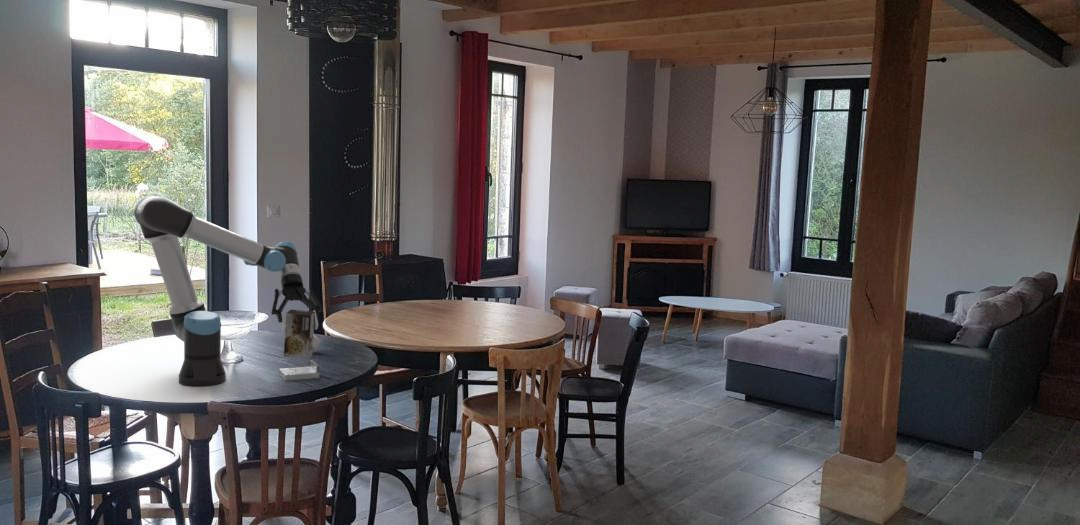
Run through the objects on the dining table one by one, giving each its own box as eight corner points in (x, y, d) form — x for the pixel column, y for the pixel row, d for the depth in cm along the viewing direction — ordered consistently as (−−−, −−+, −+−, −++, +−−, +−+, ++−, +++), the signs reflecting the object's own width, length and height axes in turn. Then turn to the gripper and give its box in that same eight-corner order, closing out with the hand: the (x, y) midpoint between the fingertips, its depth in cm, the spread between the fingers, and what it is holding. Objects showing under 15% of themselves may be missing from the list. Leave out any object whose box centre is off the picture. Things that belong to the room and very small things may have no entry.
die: (314, 350, 347) (299, 332, 345) (327, 343, 342) (313, 324, 340) (303, 361, 340) (288, 342, 338) (317, 354, 335) (302, 335, 333)
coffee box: (312, 354, 306) (316, 311, 304) (308, 359, 299) (312, 314, 297) (287, 352, 305) (290, 308, 303) (282, 356, 299) (285, 312, 297)
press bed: (284, 380, 296) (285, 368, 296) (278, 374, 305) (279, 362, 304) (319, 378, 302) (319, 366, 301) (312, 371, 311) (312, 359, 310)
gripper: (260, 273, 304) (268, 324, 292) (324, 271, 315) (335, 320, 303) (257, 285, 309) (265, 336, 297) (320, 283, 320) (330, 332, 308)
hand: (300, 328), depth 300 cm, fingers closed on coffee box, 11 cm apart
